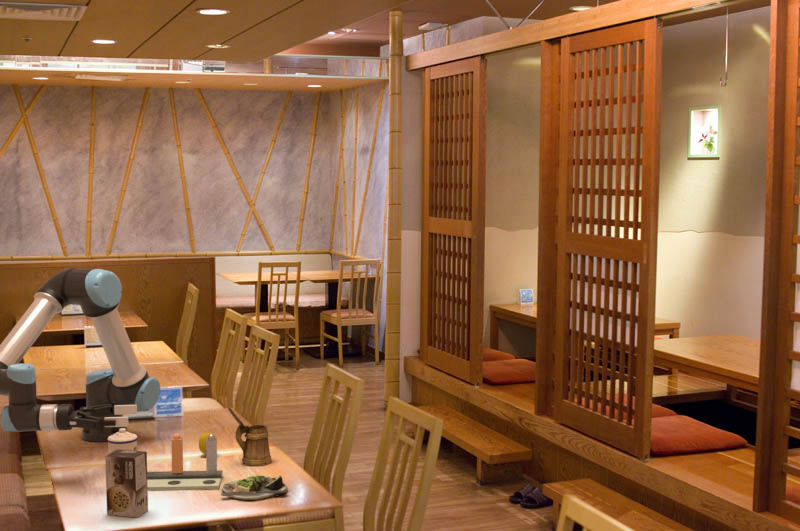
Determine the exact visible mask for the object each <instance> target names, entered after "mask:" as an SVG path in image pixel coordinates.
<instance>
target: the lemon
mask: <svg viewBox="0 0 800 531" xmlns="http://www.w3.org/2000/svg"><path fill="white" fill-rule="evenodd" d="M209 434H213V433H212V432H209V431H205V432H204V433H202V434H201V435H200V437H199V440H198V447H199V448H198V449H199V451H200V452H201V453H202V454H203V455H205V456H206V440H207V437H208V435H209Z"/></svg>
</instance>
